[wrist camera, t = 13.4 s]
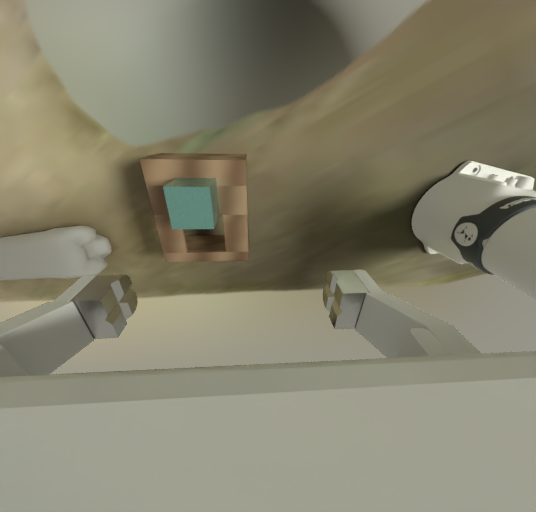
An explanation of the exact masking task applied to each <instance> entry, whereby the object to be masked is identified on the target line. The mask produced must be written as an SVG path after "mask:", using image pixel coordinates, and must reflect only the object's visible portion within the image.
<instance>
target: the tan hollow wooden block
mask: <svg viewBox="0 0 536 512" xmlns="http://www.w3.org/2000/svg"><path fill="white" fill-rule="evenodd" d="M140 163H141V167H142V171H143V175H144V179H145V183H146V187H147V191H148V195H149V199H150V203H151V207H152V211H153V215H154V219H155V223H156V227H157V231H158V234H159V238H160V242H161V246H162V250H163V254H164V258H165V262H197V261H249V235H248V217H247V184H246V165H247V154H173V153H160V154H157V155H153V156H149V157H146V158H142V159H140ZM176 178H216V182H217V192H218V203H219V213H220V215H223V224H224V235H196V236H185V231H184V229H172V226H171V222H170V217H169V212H168V208H167V203H166V198H165V194H164V189H163V186H165V185H166V184H168V183H170V182H171V181H173V180H174V179H176Z"/></svg>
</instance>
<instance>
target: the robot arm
mask: <svg viewBox="0 0 536 512" xmlns="http://www.w3.org/2000/svg"><path fill="white" fill-rule="evenodd" d="M473 169H474V170H473ZM533 185H534V178H532V177H530V176H526V175H523V174H519V173H515V172H511V171H508V170H504V169H500V168H496V167H492V166H489V165H485V164H481V163H477V162H474V161H466V162H465V163H463V164H462V165H461V166H460V167H459V168H458V169H457V170H456V171H455V172H454V173H453V174H451V175H450V176H448V177H447V178H445V179H443V180H442V181H440V182H438V183H437V184H435V185H434V186H433V187H432V188H430V189H429V190H428V191H427V192H426V193H425V194H424V196H423V197H422V198H421V199H420V201H419V202H418V204H417V206H416V208H415V210H414V213H413V216H412V230H413V233H414V234H415V236H416V237H417V238H418V239H419V240H420V241H421V242H422V243H423V244H424V248H425V250H426V252H428V253H430V254H436V253H440V254H442V255H444V256H445V257H447V258H449V259H451V260H453V261H455V262H457V263H459V264H463V263H470V264H471V265H472V266H473V267H475V268H477V269H479V270H482V271H484V272H485V273H488V274H492V275H496V276H497V277H499V278H501V279H502V280H504V281H506V282H508V283H509V284H511V285H512V286H514V287H516V288H517V289H519V290H521V291H522V292H524V293H526V294H527V295H529V296H531V297H532V298H534V299H536V191H533ZM325 279H326V281H327V283H328V284H327V285H326V286H325V287H324V290H323V301H324V305H325V307H326V309H327V310H328V311H330V315H329V317H330V319H331V322H332V324H333V327H334V328H335V329H355V330H356V331H357V332H358V333H360V334H361V335H362V336H363V337H364V338H365V339H366V340H368V341H369V342H370V343H371V344H372V345H373V346H374V347H376V348H377V349H378V350H379V351H380V352H381V353H383V354H384V355H385V356H386V357H387V358H380V359H360V360H341V361H320V362H298V363H279V364H258V365H257V364H256V365H235V366H217V367H216V366H215V367H195V368H174V369H154V370H134V371H113V372H93V373H72V374H53V375H49V374H50V373H51V372H53V371H54V370H55V369H57V368H58V367H59V366H61V365H62V364H63V363H65V362H66V361H67V360H68V359H70V358H71V357H72V356H74V355H75V354H76V353H78V352H79V351H80V350H82V349H83V348H84V347H86V346H87V345H88V344H89V343H91V342H92V341H94V339H99V338H100V339H101V338H115V337H119V335H120V334H121V332H122V331H123V329H124V328H125V326H126V324H127V322H126V319H127V318H129V317H130V316H132V315H133V313H134V311H135V310H136V306H137V296H136V293H135V292H134V291H133V290H132V289H130V287H131V285H132V282H131V280H130V277H129V276H127V275H86V276H82V277H81V278H80V279H79V280H77V281H76V282H75V283H74V284H73V285H72V286H70V287H69V288H68V289H67V290H66V291H65V292H63V293H62V294H61V295H60V296H59V297H58V298H56V299H55V300H54V301H53V302H47V303H45V304H42V305H40V306H38V307H36V308H33V309H31V310H29V311H26V312H24V313H22V314H19V315H17V316H15V317H12V318H10V319H8V320H6V321H3V322H1V323H0V512H536V351H523V352H503V353H480V351H479V350H477V349H476V347H474V346H473V345H472V344H471V343H470V342H469V341H468V340H467V339H466V338H465V337H464V336H463V335H462V334H461V333H460V332H459V331H458V330H457V329H456V328H455V327H454V326H452V325H450V324H448V323H447V322H444V321H443V320H441V319H438V318H437V317H435V316H433V315H430V314H429V313H427V312H425V311H423V310H421V309H418V308H417V307H415V306H413V305H411V304H409V303H407V302H405V301H403V300H401V299H399V298H397V297H394V296H392V295H390V294H389V293H383V292H382V290H381V289H380V288H379V287H378V286H377V284H376V283H375V282H374V281H373V279H372V278H371V277H370V276H369V274H368V273H367V272H366V271H365V270H363V269H357V270H339V271H328V272H327V274H326V278H325Z"/></svg>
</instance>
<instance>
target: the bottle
mask: <svg viewBox="0 0 536 512" xmlns="http://www.w3.org/2000/svg"><path fill="white" fill-rule="evenodd" d="M111 252H112V250H111V244H110V242H109V241H108V239H107V238H106V237H103V236H101V235H99V234H96V230H95V229H93V228H91V227H89V226H74V227H62V228H53V229H50V230H47V231H42V232H36V233H29V234H22V235H15V236H8V237H2V238H0V281H1V280H22V279H42V278H62V279H69V278H78V277H82V276H86V275H97V274H99V273H100V272H101V271H102V270H103V269H105V268H106V267H107V266H108V264H107V263H106V261H105V260H104V259H105V258H106V257H107V256H108V255H109V254H110V253H111Z"/></svg>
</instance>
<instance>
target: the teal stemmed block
mask: <svg viewBox="0 0 536 512" xmlns="http://www.w3.org/2000/svg"><path fill="white" fill-rule="evenodd" d="M163 189H164V194H165V198H166V203H167V208H168V212H169V217H170V222H171V226H172V229H215V226H216V223H217V221H218V218H219V215H220V213H219V203H218V192H217V182H216V178H176V179H174V180H173V181H171V182H170V183H168V184H166V185H165V186H163Z"/></svg>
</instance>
